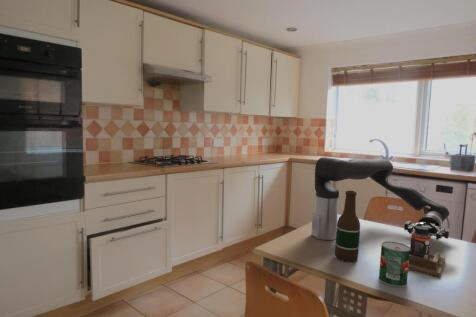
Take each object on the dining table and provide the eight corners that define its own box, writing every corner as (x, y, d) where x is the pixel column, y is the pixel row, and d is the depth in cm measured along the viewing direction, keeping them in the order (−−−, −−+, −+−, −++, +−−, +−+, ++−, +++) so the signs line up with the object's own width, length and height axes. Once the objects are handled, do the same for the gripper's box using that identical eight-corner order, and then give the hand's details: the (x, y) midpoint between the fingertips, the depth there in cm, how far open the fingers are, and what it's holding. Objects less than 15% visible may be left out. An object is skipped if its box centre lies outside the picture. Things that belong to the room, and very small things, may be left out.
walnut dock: (439, 277, 104) (440, 265, 103) (391, 265, 112) (392, 253, 112) (444, 262, 116) (445, 251, 116) (401, 251, 125) (402, 241, 124)
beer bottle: (357, 255, 119) (362, 190, 117) (357, 264, 112) (363, 194, 110) (335, 252, 122) (339, 188, 119) (334, 260, 115) (338, 192, 112)
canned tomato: (374, 274, 105) (377, 240, 104) (399, 275, 104) (402, 241, 103) (384, 286, 97) (388, 250, 96) (412, 287, 97) (415, 251, 95)
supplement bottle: (431, 263, 111) (434, 231, 110) (412, 261, 112) (415, 229, 111) (425, 257, 117) (428, 225, 115) (407, 255, 118) (409, 224, 117)
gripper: (410, 211, 134) (402, 219, 121) (452, 218, 125) (448, 227, 112) (409, 229, 135) (400, 239, 122) (450, 237, 126) (445, 249, 113)
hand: (423, 233), depth 117 cm, fingers open, 8 cm apart
